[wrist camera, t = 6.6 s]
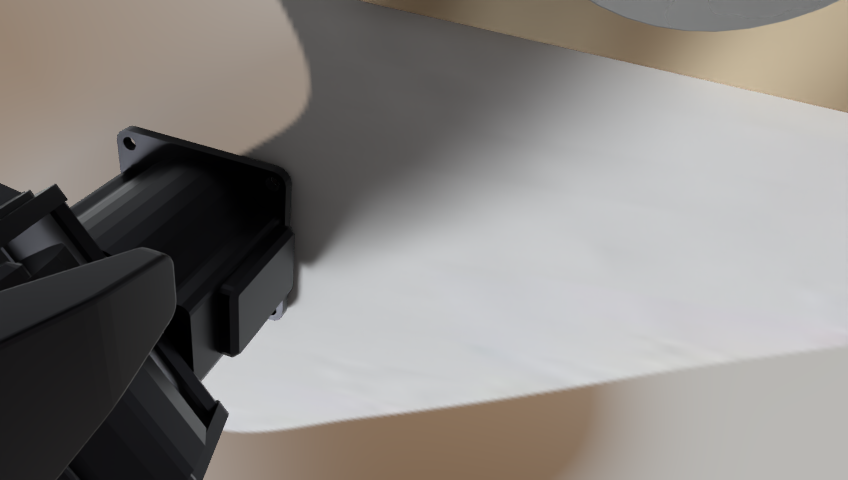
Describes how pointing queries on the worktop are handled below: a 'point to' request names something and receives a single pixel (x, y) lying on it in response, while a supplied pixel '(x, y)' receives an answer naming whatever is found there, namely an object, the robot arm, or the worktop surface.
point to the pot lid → (713, 12)
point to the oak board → (677, 43)
